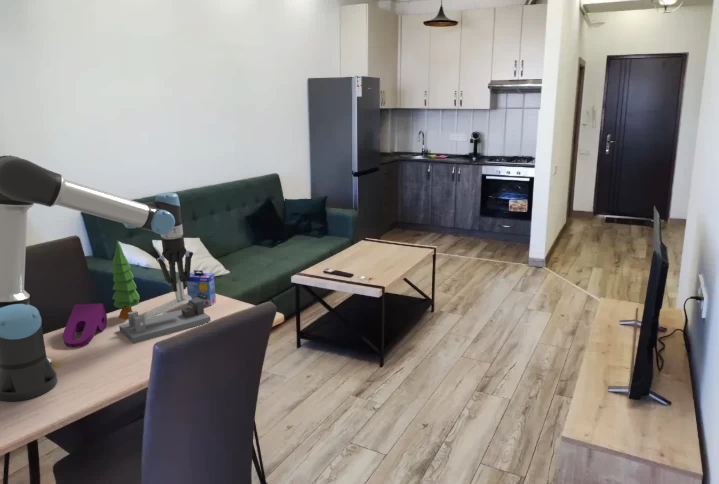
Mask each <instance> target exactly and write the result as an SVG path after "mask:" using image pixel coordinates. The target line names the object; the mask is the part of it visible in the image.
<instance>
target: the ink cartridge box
mask: <svg viewBox="0 0 719 484" xmlns="http://www.w3.org/2000/svg"><path fill="white" fill-rule="evenodd" d="M185 284H186V291H187V293H186V294H187V295H189V296H191V298H192V299H193V298H199V299H201V300H202V301H203V305H211V306H213V305H214V304H215V303H216V302H217V297H216V285H215V274H214V273H208V272H204V271H203V270H198V269H197V270H196V269H194V270H193V272H190V278H188V279H186V282H185ZM187 302H188V305H191V306H192V303H191V302H189V301H187ZM213 303H214V304H213ZM212 304H213V305H212Z"/></svg>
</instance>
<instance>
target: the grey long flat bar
mask: <svg viewBox="0 0 719 484" xmlns="http://www.w3.org/2000/svg"><path fill="white" fill-rule="evenodd" d="M184 296H185V299H182V298H181V300H177V299H176V298H175V299H173V300H170V301H169V302H166V303H163V304H161V305H158V306H157V307H155V308H152V309H150V310H147V311H146V312H143V313H141V314H138V316H134V317H133V318H132V320H133V321H134V318H137V317H141V316H144V317H145V320H148V319H150V318H152V317H154V316H158V315H162V314H164V313H165V312H168V311H169V310H172V309H174V308H176V307H178V306H181V305H183V304H184V303H187V302H188V301H189V300H191V299H192V298H191V296H189V295H188V294H187V293H186V294H184Z"/></svg>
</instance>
